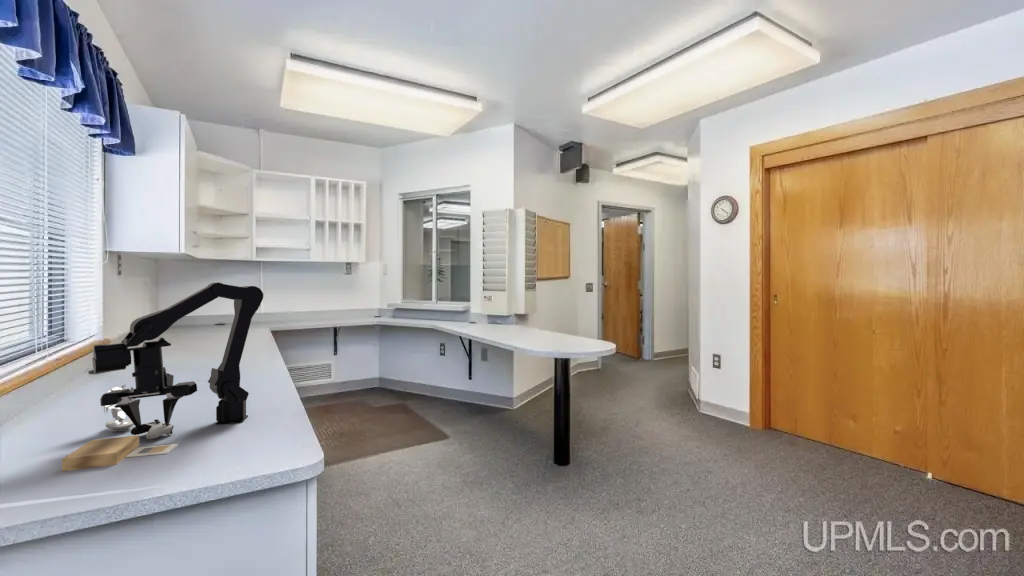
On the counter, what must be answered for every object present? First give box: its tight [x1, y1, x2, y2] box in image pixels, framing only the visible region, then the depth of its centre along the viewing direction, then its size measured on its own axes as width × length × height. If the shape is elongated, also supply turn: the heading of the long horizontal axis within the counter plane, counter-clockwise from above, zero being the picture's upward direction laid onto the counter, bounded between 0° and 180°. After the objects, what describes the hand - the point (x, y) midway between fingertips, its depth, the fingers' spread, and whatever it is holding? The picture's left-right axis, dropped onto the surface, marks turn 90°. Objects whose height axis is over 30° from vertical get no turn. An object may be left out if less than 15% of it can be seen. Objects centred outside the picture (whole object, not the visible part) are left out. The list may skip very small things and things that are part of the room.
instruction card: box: [125, 443, 179, 458], centre depth 105 cm, size 8×6×1 cm
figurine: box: [103, 384, 135, 433], centre depth 120 cm, size 9×6×12 cm
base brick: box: [61, 434, 140, 472], centre depth 101 cm, size 9×13×3 cm
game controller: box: [130, 419, 175, 440], centre depth 115 cm, size 10×5×6 cm
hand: (153, 426), depth 114 cm, fingers closed on game controller, 6 cm apart
